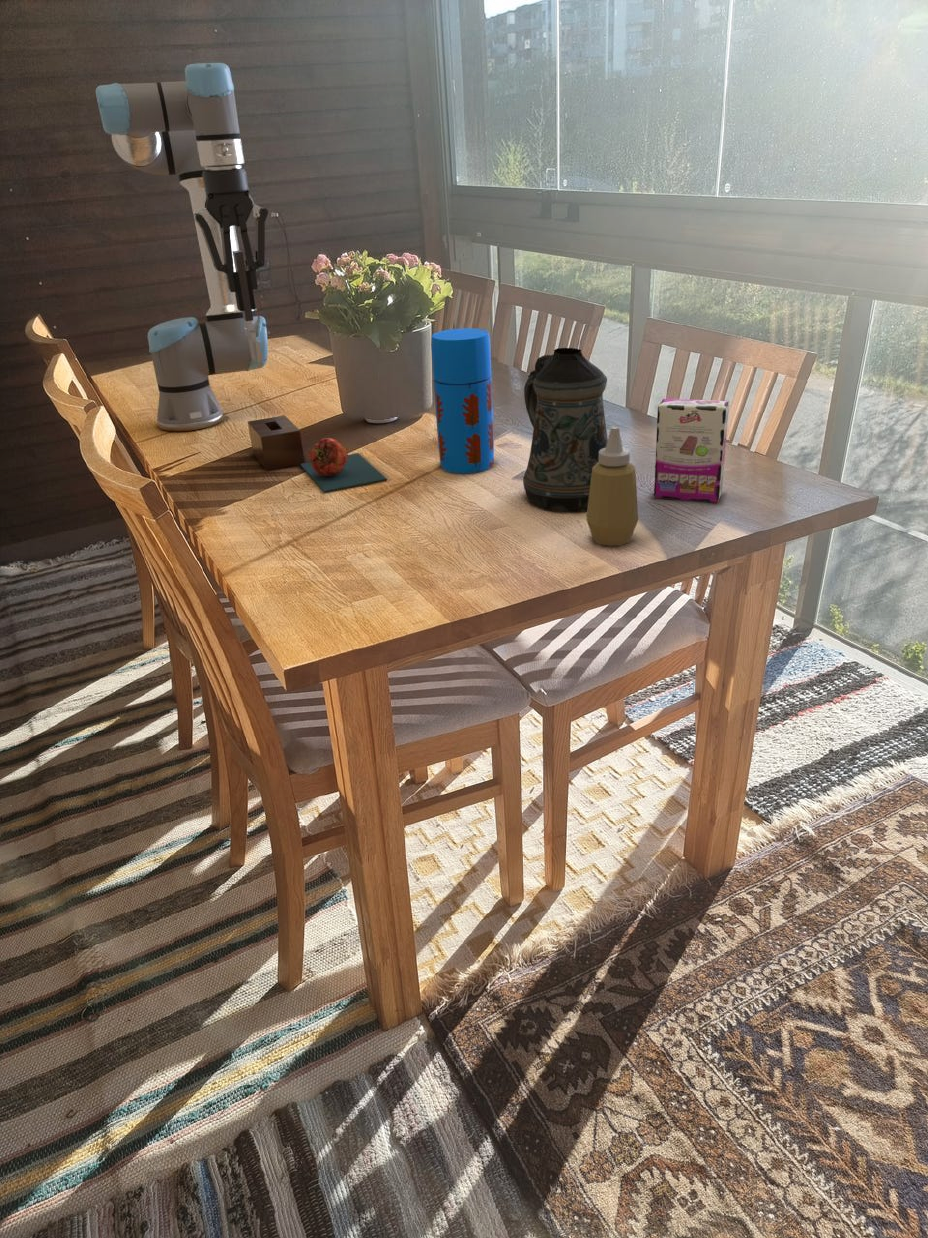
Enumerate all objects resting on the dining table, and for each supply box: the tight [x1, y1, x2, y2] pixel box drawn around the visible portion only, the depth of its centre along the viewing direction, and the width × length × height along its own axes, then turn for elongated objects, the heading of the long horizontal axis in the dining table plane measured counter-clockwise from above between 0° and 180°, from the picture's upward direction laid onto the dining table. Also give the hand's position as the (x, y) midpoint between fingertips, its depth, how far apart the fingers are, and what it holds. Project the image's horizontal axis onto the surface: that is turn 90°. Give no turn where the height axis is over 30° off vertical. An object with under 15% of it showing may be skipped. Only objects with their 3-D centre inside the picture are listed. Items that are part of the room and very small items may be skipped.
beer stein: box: [522, 347, 609, 513], centre depth 151 cm, size 16×19×25 cm
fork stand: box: [247, 414, 306, 472], centre depth 182 cm, size 13×8×7 cm, turn 24°
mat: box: [299, 452, 388, 494], centre depth 174 cm, size 18×12×1 cm
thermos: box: [430, 327, 495, 475], centre depth 168 cm, size 11×11×25 cm
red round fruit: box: [308, 437, 349, 476], centre depth 170 cm, size 7×7×10 cm
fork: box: [232, 249, 263, 363], centre depth 165 cm, size 6×2×20 cm, turn 24°
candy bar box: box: [653, 398, 730, 503], centre depth 149 cm, size 11×5×16 cm, turn 69°
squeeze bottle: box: [586, 426, 639, 547], centre depth 135 cm, size 8×8×18 cm
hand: (246, 308), depth 165 cm, fingers closed on fork, 1 cm apart
